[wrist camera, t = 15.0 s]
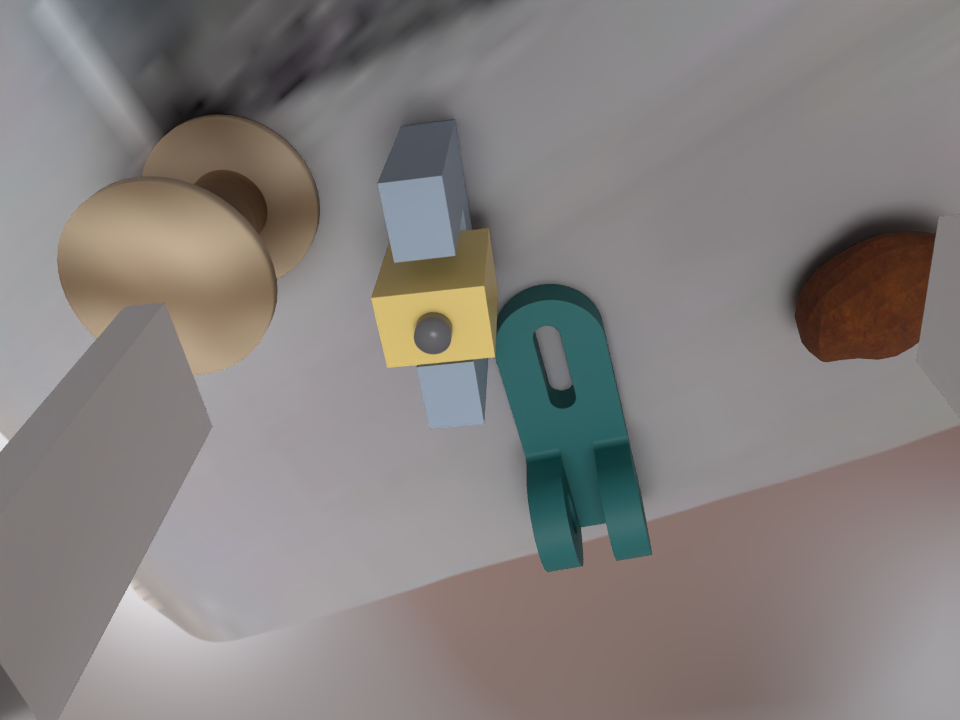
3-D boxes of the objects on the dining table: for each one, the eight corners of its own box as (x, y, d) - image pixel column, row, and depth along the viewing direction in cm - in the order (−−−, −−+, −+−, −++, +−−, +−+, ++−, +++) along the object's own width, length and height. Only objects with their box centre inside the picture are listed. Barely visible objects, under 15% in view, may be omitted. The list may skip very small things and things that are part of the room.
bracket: (641, 494, 59) (656, 577, 52) (548, 510, 60) (551, 594, 54) (591, 272, 50) (602, 337, 43) (483, 296, 51) (477, 364, 45)
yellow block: (390, 239, 46) (367, 308, 39) (488, 227, 45) (483, 295, 39) (403, 302, 48) (384, 378, 41) (498, 292, 47) (494, 367, 41)
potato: (769, 247, 49) (801, 298, 43) (937, 191, 46) (993, 238, 41) (794, 343, 52) (826, 402, 46) (951, 295, 50) (1004, 351, 44)
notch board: (401, 126, 46) (377, 183, 38) (455, 119, 45) (442, 175, 38) (442, 344, 53) (429, 428, 45) (489, 339, 53) (484, 424, 45)
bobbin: (121, 126, 46) (21, 198, 37) (295, 103, 45) (236, 170, 36) (180, 286, 52) (105, 384, 42) (337, 268, 50) (295, 365, 41)
